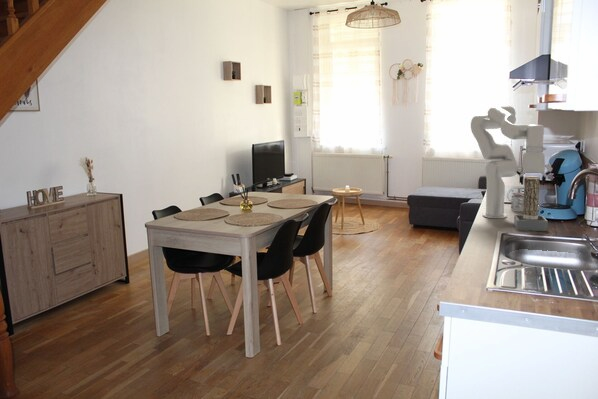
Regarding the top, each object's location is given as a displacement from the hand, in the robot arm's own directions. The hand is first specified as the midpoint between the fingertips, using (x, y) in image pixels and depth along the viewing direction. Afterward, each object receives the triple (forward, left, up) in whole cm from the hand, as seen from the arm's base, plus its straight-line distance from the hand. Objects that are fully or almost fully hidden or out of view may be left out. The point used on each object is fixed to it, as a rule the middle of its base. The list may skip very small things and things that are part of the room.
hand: (532, 184), depth 245 cm
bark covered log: (0, 0, -21) cm, 21 cm away
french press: (-48, -1, -22) cm, 53 cm away
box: (0, 0, -22) cm, 22 cm away
